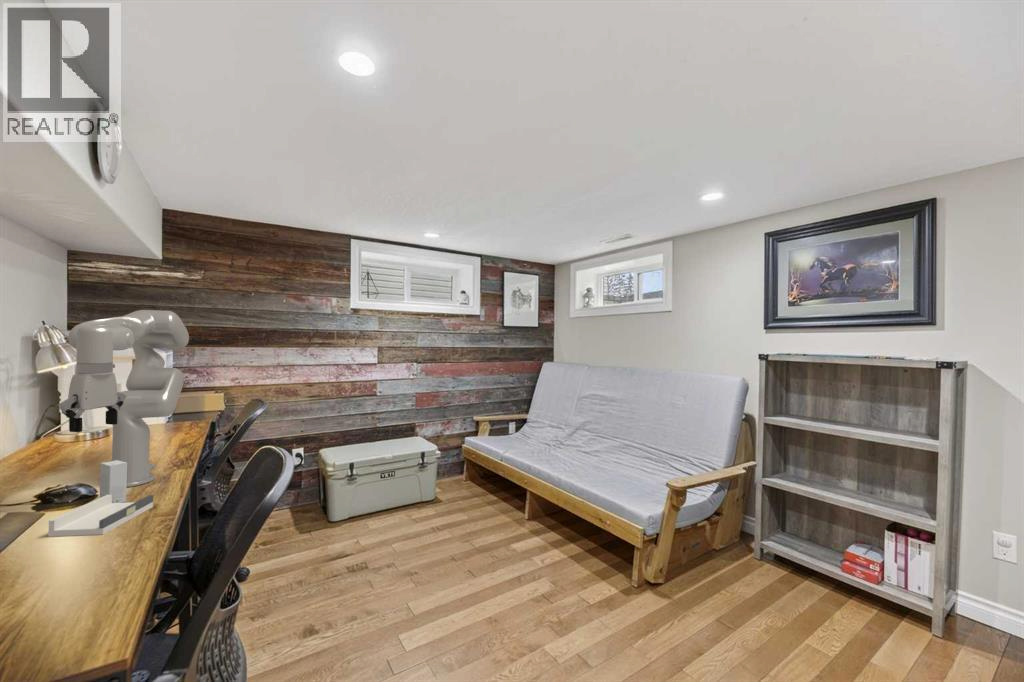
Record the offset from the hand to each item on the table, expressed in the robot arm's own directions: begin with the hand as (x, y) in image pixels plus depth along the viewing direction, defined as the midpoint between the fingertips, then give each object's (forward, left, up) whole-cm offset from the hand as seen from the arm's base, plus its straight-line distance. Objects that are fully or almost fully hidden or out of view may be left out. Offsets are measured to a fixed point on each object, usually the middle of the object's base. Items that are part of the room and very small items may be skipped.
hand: (94, 427), depth 121 cm
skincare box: (-5, +2, -24) cm, 24 cm away
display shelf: (+9, +10, -24) cm, 27 cm away
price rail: (+9, +15, -22) cm, 28 cm away
